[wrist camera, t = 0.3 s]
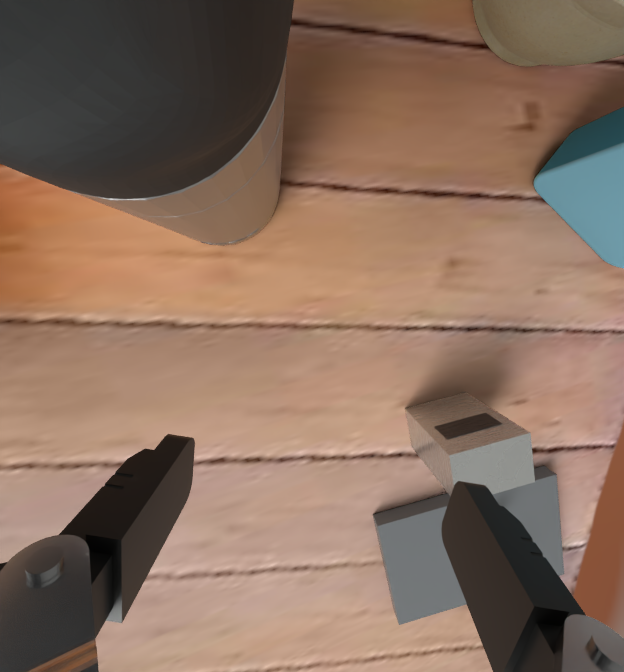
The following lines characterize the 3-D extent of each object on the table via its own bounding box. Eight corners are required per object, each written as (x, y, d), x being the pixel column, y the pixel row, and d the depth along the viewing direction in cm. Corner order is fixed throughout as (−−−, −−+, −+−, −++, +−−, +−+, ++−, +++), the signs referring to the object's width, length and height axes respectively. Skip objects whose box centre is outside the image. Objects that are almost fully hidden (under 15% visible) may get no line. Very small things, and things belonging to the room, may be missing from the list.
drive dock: (372, 514, 32) (390, 558, 27) (544, 465, 33) (590, 498, 28) (393, 610, 35) (413, 665, 30) (552, 561, 36) (595, 607, 31)
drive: (404, 407, 30) (449, 455, 23) (465, 391, 31) (530, 432, 23) (411, 447, 31) (456, 505, 24) (471, 430, 32) (535, 482, 24)
